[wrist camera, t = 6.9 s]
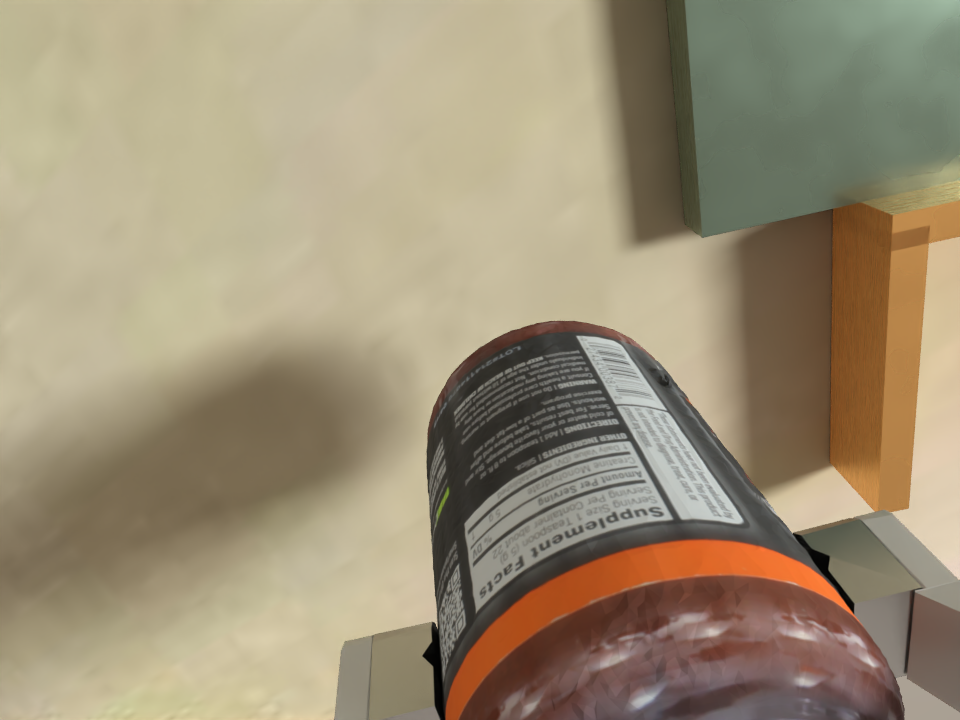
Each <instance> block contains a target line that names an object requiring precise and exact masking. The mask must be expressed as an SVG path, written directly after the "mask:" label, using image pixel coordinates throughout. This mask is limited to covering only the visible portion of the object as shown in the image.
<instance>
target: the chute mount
mask: <svg viewBox="0 0 960 720" xmlns="http://www.w3.org/2000/svg"><path fill="white" fill-rule="evenodd" d="M666 4H667V16H668V28H669V40H670V52H671V64H672V76H673V87H674V99H675V111H676V123H677V135H678V147H679V159H680V171H681V183H682V195H683V207H684V218H685V225H686V226H688V227H689V228H690V229H692V230H693V231H694V232H695V233H697V234H698V235H699V236H701V237H702V238H704V237H708V236H713V235H717V234H722V233H726V232H731V231H735V230H740V229H744V228H748V227H753V226H757V225H762V224H766V223H771V222H775V221H780V220H784V219H789V218H793V217H798V216H802V215H807V214H811V213H816V212H820V211H825V210H829V209H833V249H832V332H831V415H830V463H831V464H832V465H833V466H834V467H835V469H836V470H837V471H838V472H839V473H840V474H841V475H842V476H843V477H844V478H845V479H846V481H847V482H848V483H849V484H850V485H851V486H852V487H853V488H854V489H855V490H856V491H857V493H858V494H859V495H860V496H861V497H862V498H863V499H864V500H865V501H866V502H867V504H868V505H869V506H870V507H871V508H872V509H873V510H874V511H875V512H876V511H880V510H886V511H889V512H894V511H898V510H903V509H908V508H909V498H910V485H911V471H912V458H913V445H914V432H915V418H916V405H917V392H918V378H919V365H920V352H921V339H922V325H923V312H924V299H925V285H926V272H927V259H928V246H929V243H932V242H937V241H941V240H946V239H950V238H955V237H959V236H960V0H666Z"/></svg>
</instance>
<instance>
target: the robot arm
mask: <svg viewBox="0 0 960 720" xmlns="http://www.w3.org/2000/svg"><path fill="white" fill-rule="evenodd" d="M793 536H794V537H795V539H796V540H797V541H798V542H799V544H800V545H801V546H802V547H803V548H805V549H806V551H807V552H808V554H809V555H810V557H811V559H812V560H813V562H814V563H815V565H816V566H817V567H818V569H819V570H820V571H821V573H822V574H823V575H824V576H825V577H826V578H827V579H828V580H829V581H830V582H831V583H832V584H833V585H834V587H835V588H836V589H837V591H838V592H839V594H840V596H841V597H842V599H843V600H844V602H845V603H846V605H847V606H848V607H849V609H850V610H851V611H852V613H853V614H854V615H855V617H856V618H857V619H858V620H859V622H860V623H861V624H862V625H863V627H864V628H865V629H866V631H867V632H868V633H869V635H870V636H871V637H872V639H873V641H874V642H875V643H876V645H877V646H878V647H879V648H880V650H881V652H882V654H883V655H884V656H885V658H886V659H887V662H888V664H889V667H890V669H891V670H892V672H893V673H894V676H895V678H897V677H902V676H906V675H907V679H909V680H910V681H912V682H913V683H915V684H917V685H918V686H920V687H921V688H923V689H924V690H926V691H927V692H929V693H931V694H932V695H934V696H935V697H937V698H938V699H940V700H942V701H943V702H945V703H946V704H948V705H949V706H951V707H953V708H954V709H956V710H957V711H959V712H960V580H959V579H958V578H957V577H956V576H955V575H954V574H953V573H952V572H951V571H950V570H949V569H948V568H947V567H946V566H945V565H944V564H943V563H942V562H941V561H940V560H939V559H938V558H937V557H936V556H935V555H934V554H932V553H931V552H930V551H929V550H928V549H927V548H926V547H925V546H924V545H923V544H922V543H921V542H920V541H919V540H918V539H917V538H916V537H915V536H914V535H913V534H912V533H911V532H910V531H909V530H908V529H907V528H906V527H905V526H904V525H903V524H902V523H901V522H900V521H899V520H898V519H897V518H896V517H895V516H894V515H893V514H892V513H891V512H889V511H886V510H880V511H876V512H873V513H869V514H865V515H861V516H857V517H854V518H848V519H844V520H840V521H837V522H833V523H829V524H825V525H821V526H817V527H813V528H809V529H805V530H802V531H798V532H794V533H793ZM334 720H445V717H444V712H443V707H442V680H441V663H440V656H439V641H438V629H437V627H436V624H435V623H434V622H429V623H425V624H420V625H415V626H411V627H406V628H402V629H397V630H392V631H388V632H383V633H379V634H375V635H372V636H367V637H363V638H358V639H354V640H349V641H345V643H344V645H343V647H342V650H341V657H340V667H339V677H338V687H337V697H336V707H335V717H334Z"/></svg>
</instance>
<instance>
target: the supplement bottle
mask: <svg viewBox="0 0 960 720" xmlns="http://www.w3.org/2000/svg"><path fill="white" fill-rule="evenodd" d="M427 479H428V493H429V505H430V520H431V536H432V539H431V541H432V552H433V570H434V583H435V597H436V604H437V621H438V641H439V656H440V663H441V680H442V707H443V712H444V717H445V720H904V705H903V702H902V696H901V694H900V688H899V686H898V684H897V681H896V678H895V676H894V673H893V672H892V670H891V669H890V667H889V664H888V662H887V659H886V658H885V656H884V655H883V654H882V652H881V650H880V648H879V647H878V646H877V645H876V643H875V642H874V641H873V639H872V637H871V636H870V635H869V633H868V632H867V631H866V629H865V628H864V627H863V625H862V624H861V623H860V622H859V620H858V619H857V618H856V617H855V615H854V614H853V613H852V611H851V610H850V609H849V607H848V606H847V605H846V603H845V602H844V600H843V599H842V597H841V596H840V594H839V592H838V591H837V589H836V588H835V587H834V585H833V584H832V583H831V582H830V581H829V580H828V579H827V578H826V577H825V576H824V575H823V574H822V573H821V571H820V570H819V569H818V567H817V566H816V565H815V563H814V562H813V560H812V559H811V557H810V555H809V554H808V552H807V551H806V549H805V548H803V547H802V546H801V545H800V544H799V542H798V541H797V540H796V539H795V537H794V536H793V534H792V533H791V531H790V530H789V529H788V527H787V526H786V525H785V523H784V522H783V521H782V520H781V519H780V518H779V517H778V516H777V514H776V513H775V511H774V509H773V508H772V507H771V505H770V504H769V503H768V501H767V500H766V499H765V497H764V496H763V494H762V493H761V492H760V491H759V490H758V489H757V488H756V487H755V486H754V484H753V483H752V482H751V480H750V478H749V477H748V476H747V475H746V473H745V472H744V470H743V469H742V467H741V466H740V465H739V464H738V462H737V461H736V460H735V459H734V457H733V456H732V455H731V454H730V452H729V451H728V450H727V449H726V448H725V447H724V446H723V444H722V443H721V442H720V440H719V439H718V438H717V436H716V434H715V433H714V432H713V431H712V429H711V428H710V426H709V425H708V424H707V423H706V421H705V420H704V419H703V418H702V416H701V415H700V414H699V412H698V411H697V410H696V409H695V408H694V407H693V405H692V404H691V403H690V402H689V400H688V397H687V396H686V395H685V393H684V392H683V391H682V390H681V389H680V388H679V387H678V386H677V384H676V383H675V382H674V380H673V379H672V377H671V376H670V375H669V373H668V372H667V371H666V370H665V369H664V368H663V367H662V365H661V364H660V363H659V362H658V361H656V360H655V359H654V357H652V356H651V355H650V354H649V353H648V352H647V351H646V350H645V349H644V348H642V347H641V346H640V345H639V344H637V343H636V342H635V341H634V340H632V339H631V338H629V337H627V336H625V335H623V334H621V333H619V332H617V331H615V330H613V329H609V328H606V327H602V326H597V325H593V324H589V323H582V322H577V321H549V322H543V323H536V324H534V325H529V326H526V327H523V328H521V329H517V330H512V331H510V332H508V333H506V334H504V335H502V336H500V337H497V338H495V339H493V340H492V341H490V342H489V343H487V344H486V345H484V346H482V347H480V348H479V349H478V350H476V351H475V352H474V353H473V354H471V355H470V356H469V357H468V358H467V359H466V360H465V361H463V362H462V363H461V364H460V365H459V367H458V368H457V369H456V370H455V371H454V372H453V373H452V374H451V376H450V377H449V379H448V380H447V382H446V385H445V386H444V388H443V389H442V391H441V393H440V395H439V397H438V399H437V401H436V403H435V405H434V407H433V412H432V415H431V418H430V422H429V427H428V444H427Z"/></svg>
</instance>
